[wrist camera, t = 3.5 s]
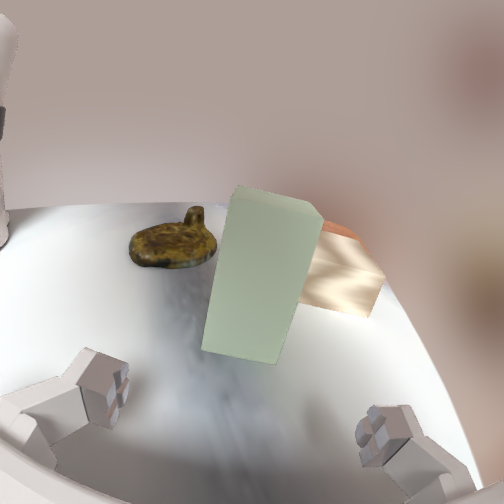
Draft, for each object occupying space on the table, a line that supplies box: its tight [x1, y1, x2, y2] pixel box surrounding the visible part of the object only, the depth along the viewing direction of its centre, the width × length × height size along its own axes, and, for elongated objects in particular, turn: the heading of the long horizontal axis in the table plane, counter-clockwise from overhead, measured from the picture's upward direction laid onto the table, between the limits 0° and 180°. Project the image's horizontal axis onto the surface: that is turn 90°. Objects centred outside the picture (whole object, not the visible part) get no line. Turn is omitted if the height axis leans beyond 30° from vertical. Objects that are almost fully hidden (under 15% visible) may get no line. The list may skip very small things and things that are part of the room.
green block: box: [201, 185, 324, 365], centre depth 19 cm, size 5×5×10 cm
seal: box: [129, 206, 217, 269], centre depth 33 cm, size 9×5×15 cm
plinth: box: [298, 230, 386, 318], centre depth 33 cm, size 12×12×5 cm
